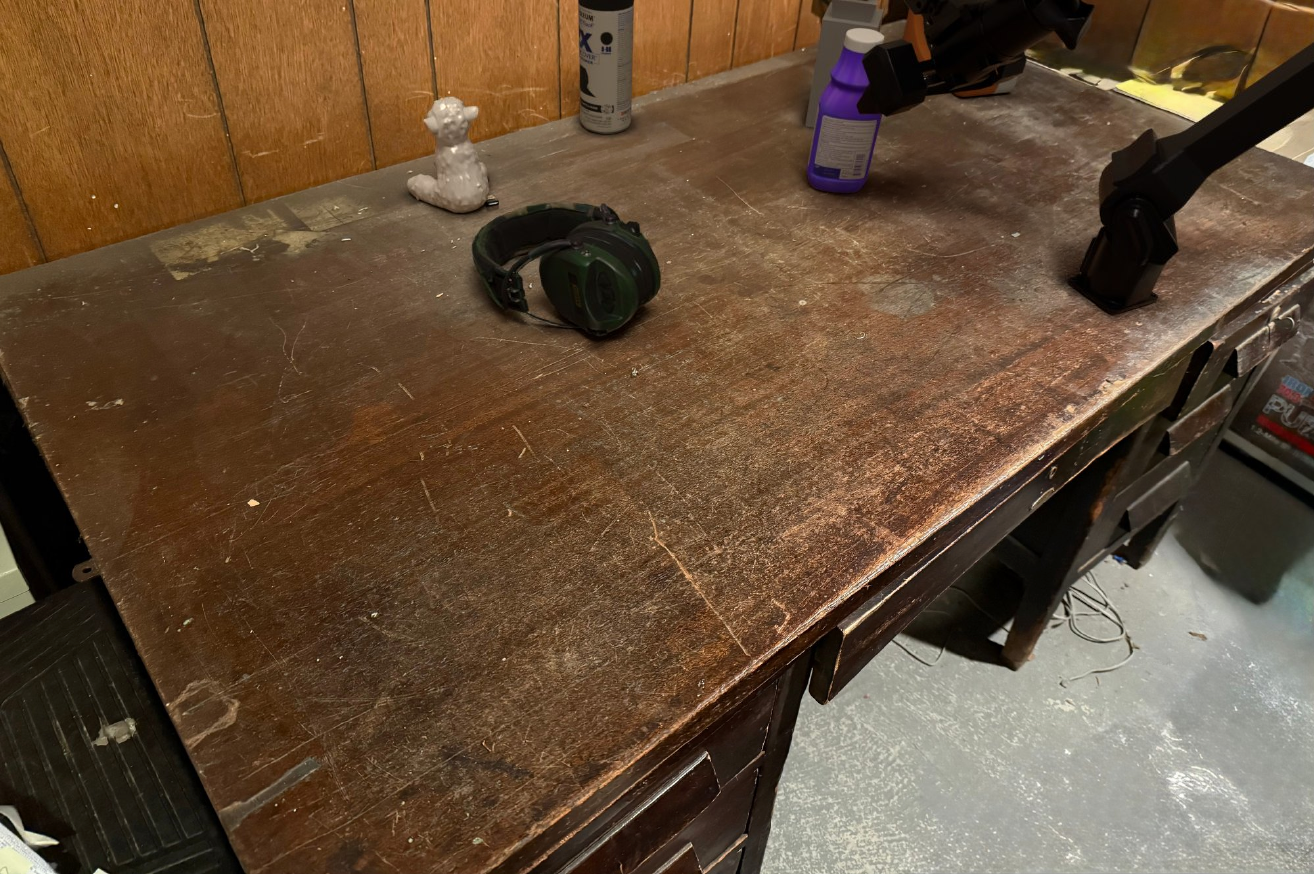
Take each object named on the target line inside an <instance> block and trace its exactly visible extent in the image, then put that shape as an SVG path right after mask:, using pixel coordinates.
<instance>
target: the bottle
mask: <svg viewBox="0 0 1314 874" xmlns="http://www.w3.org/2000/svg"><path fill="white" fill-rule="evenodd" d="M884 41H885V35H884V34H882V33H881V32H877V31H875V30H871V29H864V28H855V29H850V30H848V31H847V32H846V36H845V40H844V45H843V50H842V53H841V55H840V58H839V60H838V62H837V64H836V65H835V66H834V67H833V68H832V70H831V72H830V76H831V81H830V83H829V84H828V85H827V87H826V88H825V90H824V91H823V93H822V94H821V97H820V98H819V103H818V108H817V114H816V119H815V125H814V128H813V130H812V131H813V132H812V137H811V143H810V147H809V153H808V158H807V159H808V160H807V165H806V173H807V180H808V182H809V184H810V185H811V187H813V189H816V190H820V191H824V192H829V193H838V194H839V193H841V194H853V193H857V192H858V191H860V190H861V189H862V188H863V186H864V185H865V183H866V181H867V179H868V175H869V172H870V167H871V163H872V160H873V155H874V150H875V146H876V142H877V138H878V133H879V130H880V125H881V120H882V117H883V114H859V112H858V110H857V107H856V104H857V102H858V101H859V99H860V98H861V96H862V94H863V93H864V91H865V90H866V88H867V87H868V85H869V80H868V78H867V75H866V72H865V69H864V66H863V64H862V58H863V55H864V54H865V53H866V52H868V51H869V50H870V49H872V48H873V47H874V46H876V45H878V44H882V43H885V42H884Z"/></svg>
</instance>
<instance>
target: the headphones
mask: <svg viewBox="0 0 1314 874" xmlns="http://www.w3.org/2000/svg"><path fill="white" fill-rule="evenodd" d="M640 226H641V225H640V223H639V222H638V221H633V220H629V221H628V222H626V223H625V221H623V220H621V218H620V217H619V215H618V213H617V212H616V211H615V210H614V209H613V208H612V207H610V206H608V205H607V203H605V202H604V203H600V206H597V205H596V206H595V205H592V204H589V203H579V202H570V201H555V202H554V201H552V202H551V201H550V202H542V203H541V202H540V203H535V204H530V205H526V206H523V207H519V208H517V209H514V210H512V211H509V212H506V213H504V214H501V215H499V216H497V217H495V218H494V219H492V220H490V221H489V222H488V223H486V224H485V225H483V226H482V227H481V228H480V229H479V230H478V232H477V234H476V235H474V237H473V239H472V243H471V255H472V259H473V263H474V265H475V268H476V270H477V273H478V274H479V276H480V278H481V280H482V284H483V287H484V289H485V291H486V293H487V294H488V295H489V296H490V298H491V299H492V300H493V301H494V302H495V303H496V304H497V305H498V306H499V307H501V308H502V309H503V311H504V312H508V311H509V310H513V311H515V312H519V313H522V314H525V315H526V316H528V317H529V318H531V319H532V320H535V321H537V322H540V323H543V324H547V325H550V326H556V327H561V328H571V329H579V328H581V329H583V330H584V331H585V332H586V333H587V334H589V335H590V334H593V335H594V336H597V337H603V336H607V335H608V333H611V332H613V331H615V330H618V329H619V328H621V327H623V326H624V325H625V324H626V323H628V321H630V320H631V319H632V318H633V316H634V315H635V314H636V312H637V310H638V309H639V308H640V307H641V306H644V305H646V304H648V303H649V302H650V301H652V300H653V299H654V298H655V297H656V296H657V295H658V293H659V291H660V289H661V283H662V276H661V268H660V265H659V261H658V259H657V256H656V254H655V252H654V250H653V248H652V246H651V244H650V242H649V240H648V239H647V238H646V237H645V235H644V234H643V233H642V232H641V227H640ZM524 254H525V255H524ZM520 255H524V256H522V257H521V258H520V259H519V260H517V261H516V262H514V263H513V264H512V266H511V267H510V268H509V270H507V269H504V267H503V266H501V265H502V264H504V263H505V261H508V260H510V259H512V258H514V257H515V258H516V257H517V256H520ZM539 257H540V259H539V264H538V274H539V279H540V283H541V287H542V289H543V291H544V294H545V295H546V297H547V299H548V300H549V302H550V303H551V305H552V306H553V307H554V309H556V311H558V312H559V314H561V316H563V317H564V318H566V319H568V320H569V321H570V322H572V323H573V324H572V323H571V324H568V323H567V324H566V323H559V322H554V321H551V320H549V319H547V318H542V317H540V316H537V315H535V314H532V313H530V312H529V311H530V309H529V304H528V301H527V299H526V290H525V289H524V280H523V276H521V274H519V271H521V270H522V269H523V268H525V266H527V265H528V264H530V263H531V262H532V261H534V260H536V259H538V258H539Z"/></svg>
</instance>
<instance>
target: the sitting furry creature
mask: <svg viewBox="0 0 1314 874" xmlns="http://www.w3.org/2000/svg"><path fill="white" fill-rule="evenodd" d="M478 116H479V107H478V105H477V106H475V105H472V106H471V105H470V106H465V104H464V102H463V100H460V99H459V98H456V97H455V96H445V97H444V98H443V97H441V98H439V99H437V100H434V101H433V105H432V107H431V109H429V110H428V112H427V114H426V118H424V119H423V122H424V123H425V125H426V128H427V130H428V131H429V132H430V133H431V135H432V136H434V138H435V147H436V148H435V149H434V157H433V164H434V166H435V168H436V171H437V173H436V177H437V178H436V179H435V177H433V176H431V175H429V174H426V175H425V174H422V173H418V174H417V175H414V176H412V177H410V178H409V179H408V180H407V183H406V184H407V185H406V186H407V190H408V191H409V192H410V194H411V195H412V196H413V197H415V198H416V201H419V200H421V201H422V202H425V203H428V204H430V205H433V206H436V207H438V208H441V209H446V210H448V211H450V212H452V213H456V214H459V213H461V214H464V213H469V212H474V211H476V210H478V209H480V208H481V207H483V206H484V205H485V203H486V202H487V200H488V199H487V198H488V195H489V192H490V191H489V190H490V189H489V188H490V185H489V181H488V180H489V179H488V177H489V175H488V170H487V167H486V165H485V163H484V162H482V161H480V159H479V153H478V152H477V151H476V149H475V145H474V144H473V142H472V141H471V139H470V137H469V136H468V135H469V132H470V130H471V126H472V121H475V120H477V118H478Z"/></svg>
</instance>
